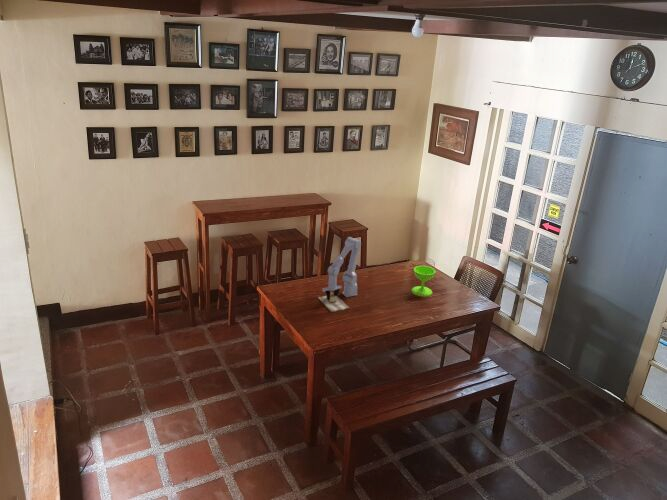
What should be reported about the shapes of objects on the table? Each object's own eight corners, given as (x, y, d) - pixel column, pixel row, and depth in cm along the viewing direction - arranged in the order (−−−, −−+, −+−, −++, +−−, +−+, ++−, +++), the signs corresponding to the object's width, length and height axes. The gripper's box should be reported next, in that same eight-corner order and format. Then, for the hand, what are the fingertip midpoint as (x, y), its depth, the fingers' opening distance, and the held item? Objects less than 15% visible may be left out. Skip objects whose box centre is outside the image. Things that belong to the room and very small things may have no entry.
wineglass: (436, 295, 399) (439, 273, 392) (418, 297, 393) (420, 275, 386) (425, 285, 412) (428, 264, 405) (407, 288, 407) (410, 267, 400)
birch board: (335, 295, 390) (335, 293, 389) (349, 308, 372) (349, 307, 371) (318, 298, 384) (318, 297, 384) (331, 312, 366) (331, 310, 365)
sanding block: (326, 298, 383) (326, 293, 381) (331, 297, 384) (331, 292, 383) (330, 303, 376) (331, 298, 374) (336, 302, 378) (336, 297, 376)
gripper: (339, 278, 381) (338, 294, 386) (321, 281, 374) (320, 298, 380) (343, 282, 375) (342, 299, 380) (325, 285, 369) (324, 302, 374)
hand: (331, 299), depth 379 cm, fingers closed on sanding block, 4 cm apart
